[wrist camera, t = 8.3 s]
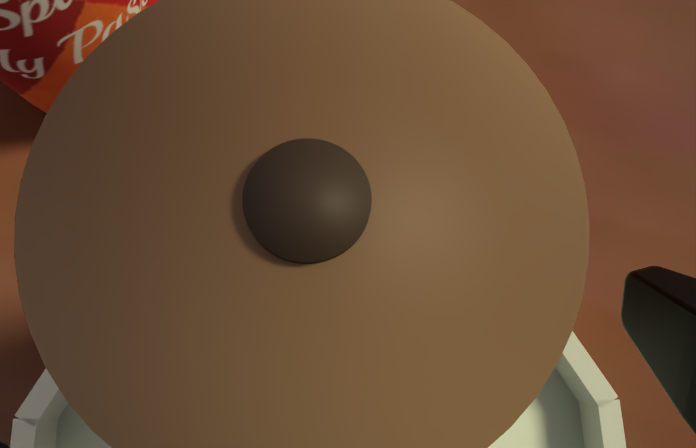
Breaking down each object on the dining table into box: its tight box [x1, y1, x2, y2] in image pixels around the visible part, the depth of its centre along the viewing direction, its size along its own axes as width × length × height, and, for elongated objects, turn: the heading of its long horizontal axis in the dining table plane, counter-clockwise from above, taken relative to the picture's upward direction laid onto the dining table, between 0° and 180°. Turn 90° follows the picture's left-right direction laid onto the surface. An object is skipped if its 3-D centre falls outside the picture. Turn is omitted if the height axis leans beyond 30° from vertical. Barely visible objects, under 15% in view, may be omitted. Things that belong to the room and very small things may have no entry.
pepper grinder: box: [14, 0, 589, 448], centre depth 10 cm, size 4×4×13 cm
